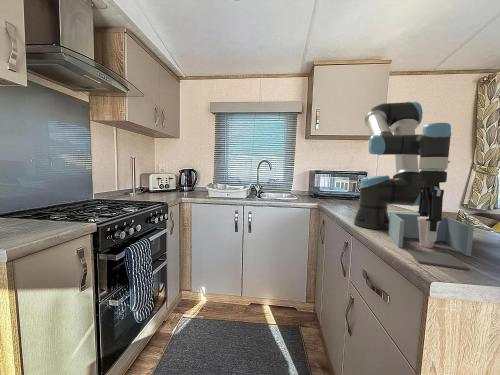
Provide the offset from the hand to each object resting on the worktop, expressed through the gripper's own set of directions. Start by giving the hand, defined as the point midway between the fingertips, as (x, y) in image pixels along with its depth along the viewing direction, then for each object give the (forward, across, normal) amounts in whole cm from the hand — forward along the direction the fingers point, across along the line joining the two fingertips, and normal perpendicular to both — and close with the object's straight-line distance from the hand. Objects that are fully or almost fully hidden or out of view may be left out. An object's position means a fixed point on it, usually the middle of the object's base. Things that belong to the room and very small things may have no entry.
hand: (427, 237), depth 80 cm
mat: (+3, -14, +2) cm, 14 cm away
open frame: (+3, +2, 0) cm, 4 cm away
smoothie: (+3, 0, 0) cm, 3 cm away
